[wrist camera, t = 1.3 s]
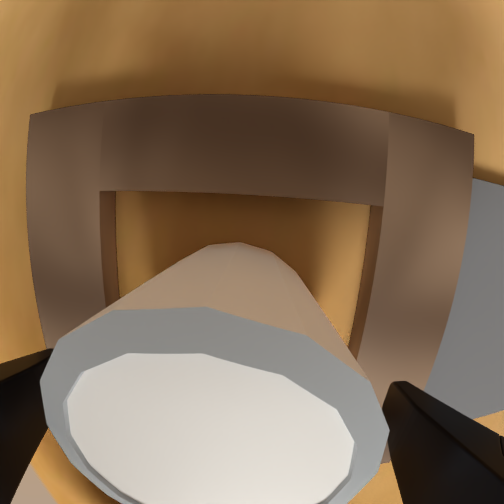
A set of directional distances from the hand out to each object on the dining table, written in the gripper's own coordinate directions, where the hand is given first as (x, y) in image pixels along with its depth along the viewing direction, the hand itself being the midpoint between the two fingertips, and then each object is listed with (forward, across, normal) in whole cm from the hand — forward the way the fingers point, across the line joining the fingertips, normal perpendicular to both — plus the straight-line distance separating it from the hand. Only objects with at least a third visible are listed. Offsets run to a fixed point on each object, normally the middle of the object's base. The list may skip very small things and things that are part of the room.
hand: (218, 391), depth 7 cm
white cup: (+4, 0, 0) cm, 5 cm away
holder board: (+4, 0, 0) cm, 4 cm away
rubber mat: (+4, -14, 0) cm, 14 cm away
